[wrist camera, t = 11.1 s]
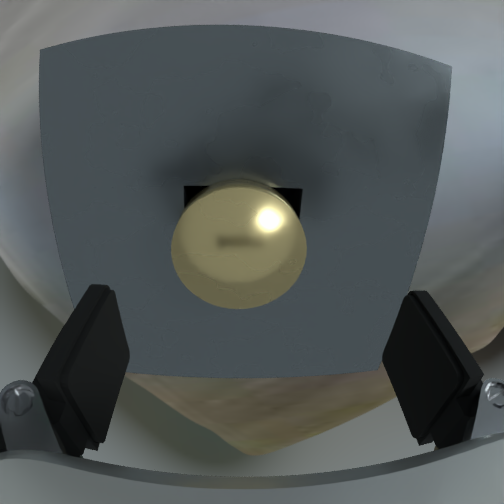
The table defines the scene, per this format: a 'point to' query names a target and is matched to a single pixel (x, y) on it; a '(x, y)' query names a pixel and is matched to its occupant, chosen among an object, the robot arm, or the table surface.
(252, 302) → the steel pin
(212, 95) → the grey square platform
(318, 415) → the table surface
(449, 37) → the table surface
